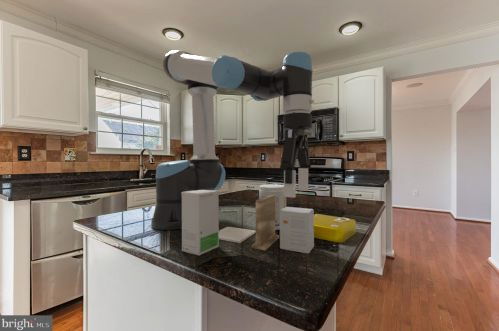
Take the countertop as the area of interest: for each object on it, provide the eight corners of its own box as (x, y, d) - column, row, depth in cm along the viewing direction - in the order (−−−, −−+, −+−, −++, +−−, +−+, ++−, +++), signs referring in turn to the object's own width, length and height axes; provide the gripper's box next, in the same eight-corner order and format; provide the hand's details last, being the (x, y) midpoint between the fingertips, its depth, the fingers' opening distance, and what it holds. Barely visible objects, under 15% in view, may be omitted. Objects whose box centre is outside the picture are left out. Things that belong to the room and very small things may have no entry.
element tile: (315, 224, 90) (315, 212, 90) (357, 232, 80) (357, 218, 80) (294, 234, 78) (294, 219, 78) (341, 245, 69) (341, 228, 68)
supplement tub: (273, 222, 92) (273, 183, 92) (292, 227, 85) (292, 185, 84) (253, 226, 86) (253, 185, 85) (272, 232, 79) (272, 187, 78)
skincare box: (198, 256, 59) (198, 193, 59) (179, 251, 63) (179, 191, 62) (220, 246, 66) (219, 190, 66) (202, 242, 70) (202, 188, 69)
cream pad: (208, 237, 74) (208, 235, 74) (227, 228, 84) (227, 226, 84) (240, 243, 69) (240, 241, 69) (256, 232, 79) (256, 230, 79)
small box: (314, 247, 66) (314, 208, 65) (308, 254, 61) (309, 212, 61) (286, 242, 70) (286, 206, 69) (279, 248, 65) (279, 209, 64)
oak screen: (251, 247, 65) (251, 200, 65) (266, 236, 75) (266, 194, 75) (265, 250, 63) (265, 201, 63) (279, 238, 73) (279, 195, 73)
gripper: (299, 102, 51) (298, 201, 52) (320, 119, 74) (319, 189, 74) (266, 106, 55) (266, 199, 55) (296, 121, 77) (295, 187, 78)
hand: (297, 193), depth 65 cm, fingers open, 13 cm apart
